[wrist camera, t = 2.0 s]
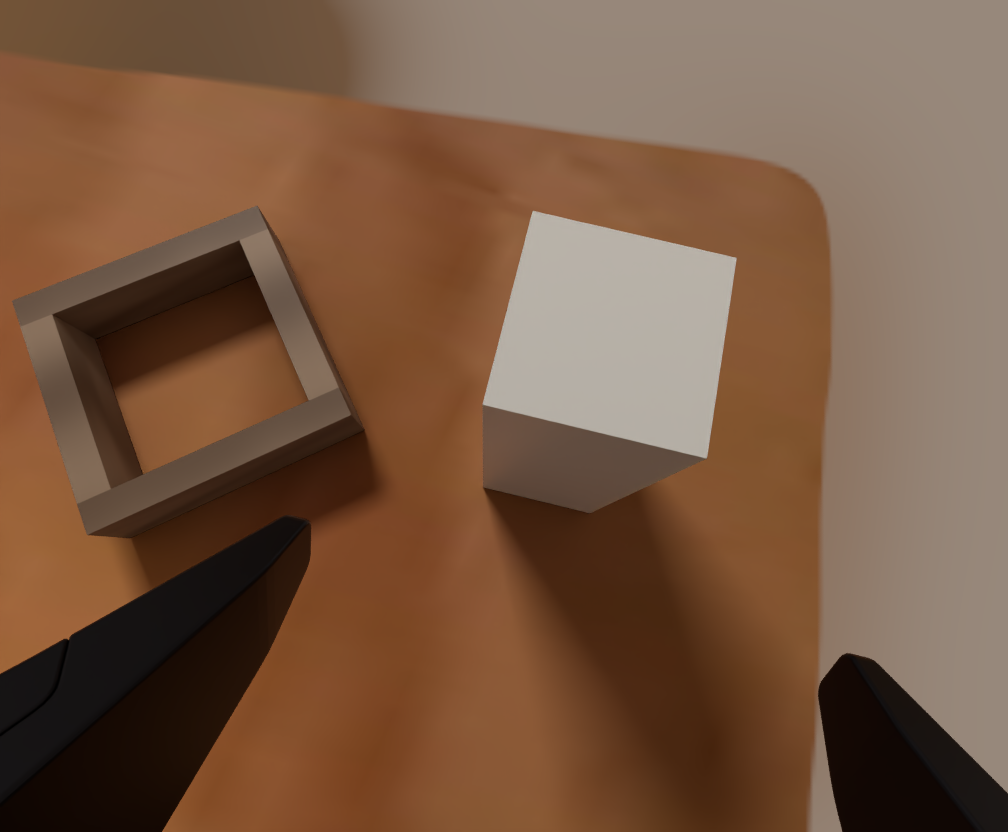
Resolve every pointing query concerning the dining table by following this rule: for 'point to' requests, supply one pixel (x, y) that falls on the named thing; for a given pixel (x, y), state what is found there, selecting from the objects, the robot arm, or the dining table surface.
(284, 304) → the rectangular frame
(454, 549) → the dining table surface
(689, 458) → the clay block
